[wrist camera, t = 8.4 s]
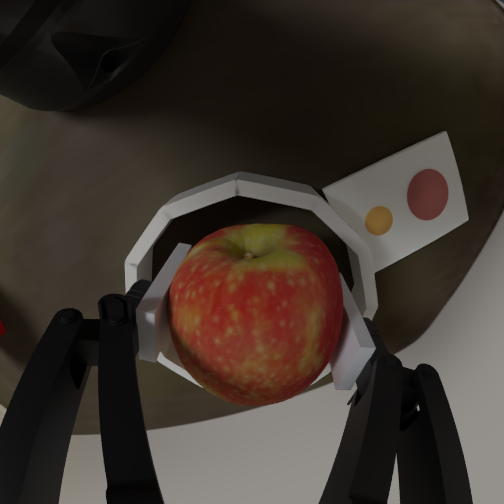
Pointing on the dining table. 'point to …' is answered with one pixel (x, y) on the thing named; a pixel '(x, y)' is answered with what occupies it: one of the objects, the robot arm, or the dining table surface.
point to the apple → (256, 312)
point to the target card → (403, 200)
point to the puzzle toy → (1, 329)
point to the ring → (262, 189)
